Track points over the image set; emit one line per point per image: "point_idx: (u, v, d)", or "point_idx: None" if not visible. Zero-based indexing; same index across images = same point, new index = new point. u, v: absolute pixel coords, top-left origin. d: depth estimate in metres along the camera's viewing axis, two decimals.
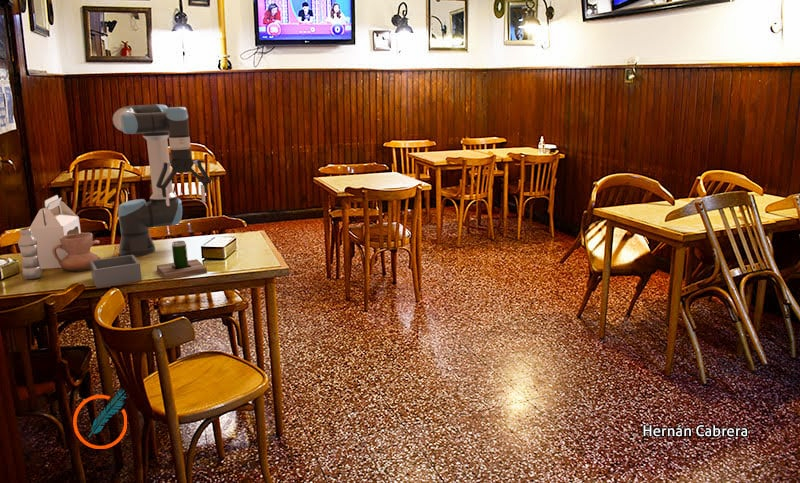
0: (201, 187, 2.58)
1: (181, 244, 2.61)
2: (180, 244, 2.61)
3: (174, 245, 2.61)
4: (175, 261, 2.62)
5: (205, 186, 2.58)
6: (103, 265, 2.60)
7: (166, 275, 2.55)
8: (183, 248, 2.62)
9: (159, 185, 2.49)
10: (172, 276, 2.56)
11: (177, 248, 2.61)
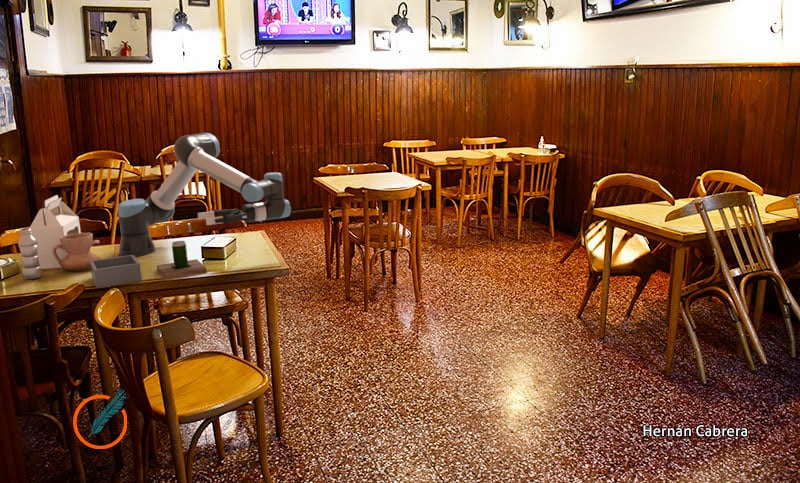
0: (212, 214, 2.74)
1: (181, 244, 2.61)
2: (180, 244, 2.61)
3: (174, 245, 2.61)
4: (175, 261, 2.62)
5: None
6: (103, 265, 2.60)
7: (166, 275, 2.55)
8: (183, 248, 2.62)
9: None
10: (172, 276, 2.56)
11: (177, 248, 2.61)
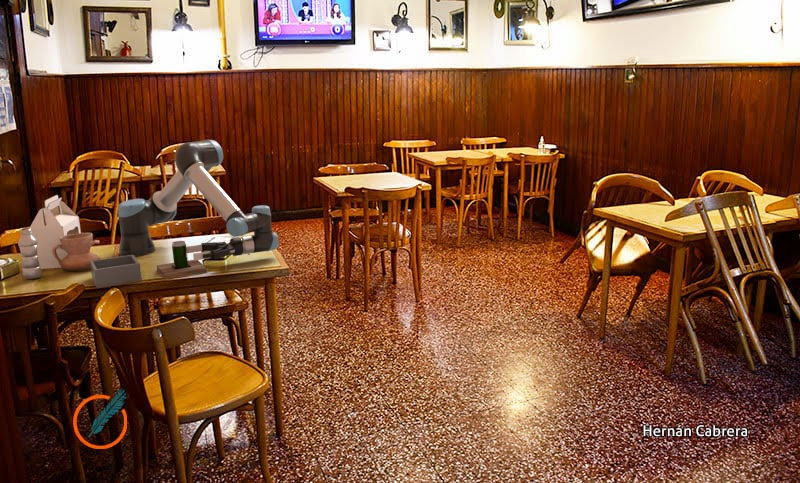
0: (199, 248, 2.73)
1: (181, 244, 2.61)
2: (180, 244, 2.61)
3: (174, 245, 2.61)
4: (175, 261, 2.62)
5: None
6: (103, 265, 2.60)
7: (166, 275, 2.55)
8: (183, 248, 2.62)
9: None
10: (172, 276, 2.56)
11: (177, 248, 2.61)
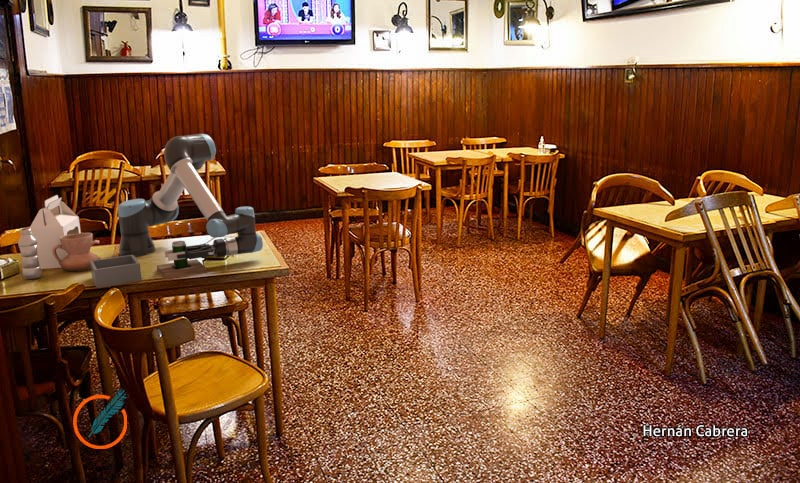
0: None
1: (181, 244, 2.61)
2: (180, 244, 2.61)
3: (174, 245, 2.61)
4: (175, 261, 2.62)
5: None
6: (103, 265, 2.60)
7: (166, 275, 2.55)
8: (183, 248, 2.62)
9: None
10: (172, 276, 2.56)
11: (177, 248, 2.61)
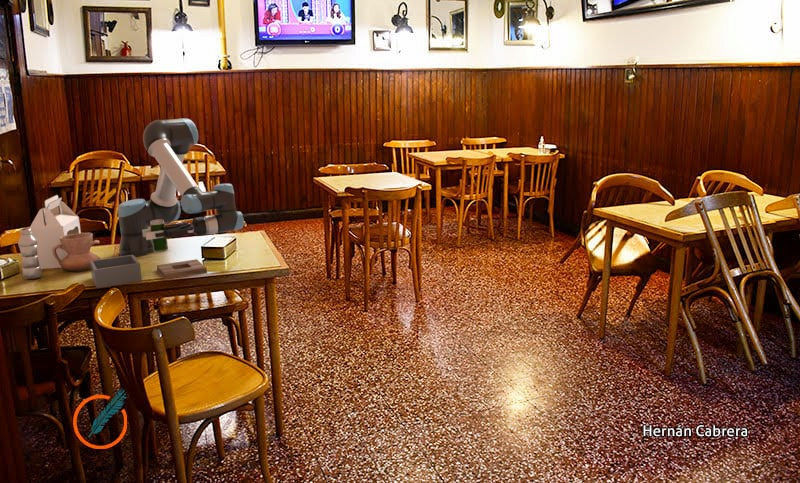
0: None
1: (159, 222, 2.54)
2: (158, 222, 2.54)
3: (152, 224, 2.54)
4: (154, 240, 2.55)
5: None
6: (103, 265, 2.60)
7: (166, 275, 2.55)
8: (162, 227, 2.55)
9: None
10: (172, 276, 2.56)
11: (155, 227, 2.54)
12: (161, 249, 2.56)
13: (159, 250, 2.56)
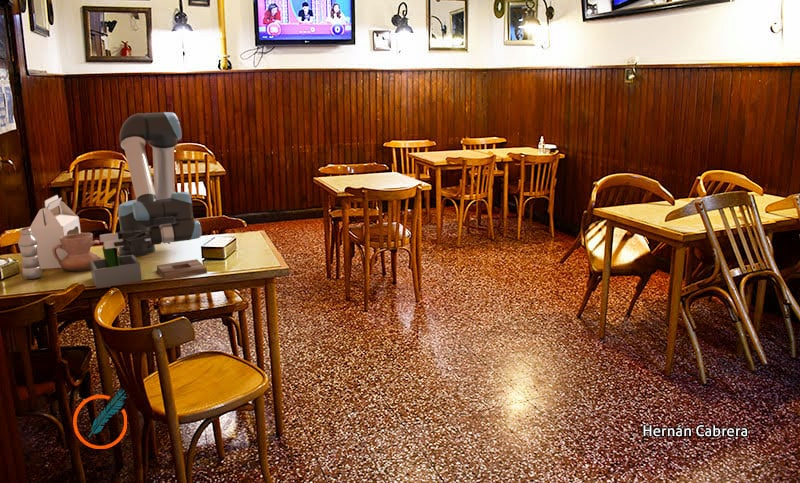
0: (115, 236, 2.59)
1: None
2: None
3: None
4: (107, 261, 2.55)
5: None
6: (103, 265, 2.60)
7: (166, 275, 2.55)
8: None
9: None
10: (172, 276, 2.56)
11: None
12: None
13: None
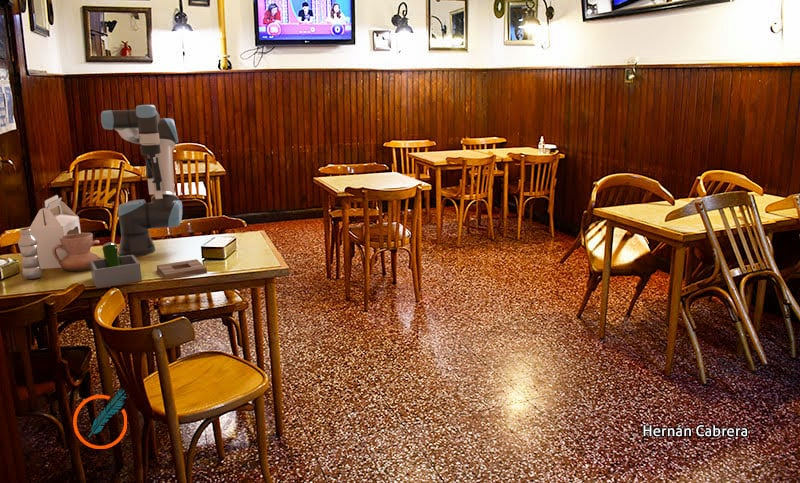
0: None
1: (111, 243, 2.58)
2: (109, 243, 2.58)
3: (104, 246, 2.57)
4: (107, 261, 2.55)
5: (156, 184, 2.62)
6: (103, 265, 2.60)
7: (166, 275, 2.55)
8: (113, 247, 2.58)
9: (146, 174, 2.76)
10: (172, 276, 2.56)
11: (107, 247, 2.57)
12: None
13: None
